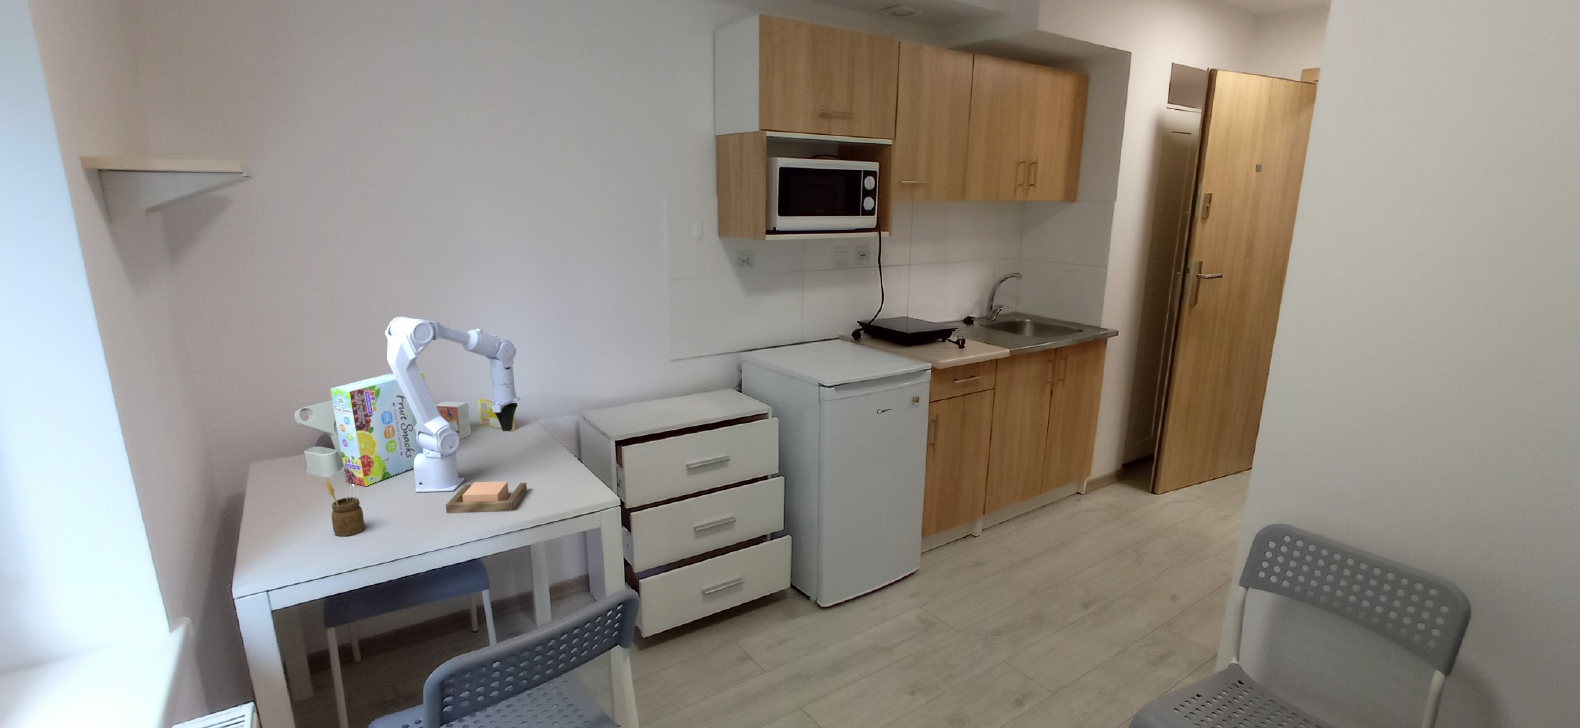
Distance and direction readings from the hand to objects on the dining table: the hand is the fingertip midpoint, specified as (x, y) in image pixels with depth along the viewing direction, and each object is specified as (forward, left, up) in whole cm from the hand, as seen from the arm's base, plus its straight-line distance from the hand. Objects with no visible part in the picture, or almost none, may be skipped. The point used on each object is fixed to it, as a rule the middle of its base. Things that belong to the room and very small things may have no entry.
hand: (507, 430), depth 202 cm
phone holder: (-45, +2, -10) cm, 46 cm away
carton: (+2, -27, -10) cm, 29 cm away
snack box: (-30, -4, -10) cm, 32 cm away
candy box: (-14, +34, -10) cm, 38 cm away
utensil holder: (-23, -41, -10) cm, 48 cm away
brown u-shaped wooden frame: (+3, -26, -9) cm, 28 cm away
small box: (-24, +25, -10) cm, 36 cm away
